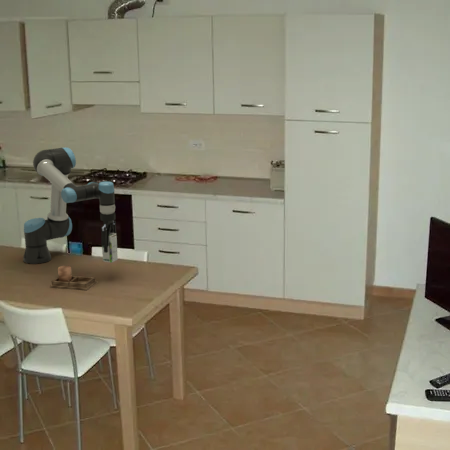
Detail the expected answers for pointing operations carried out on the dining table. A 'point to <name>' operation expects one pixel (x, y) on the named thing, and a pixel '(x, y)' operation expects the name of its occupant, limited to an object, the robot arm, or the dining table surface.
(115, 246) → the syrup box
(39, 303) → the dining table surface
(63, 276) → the caddy
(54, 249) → the dining table surface
